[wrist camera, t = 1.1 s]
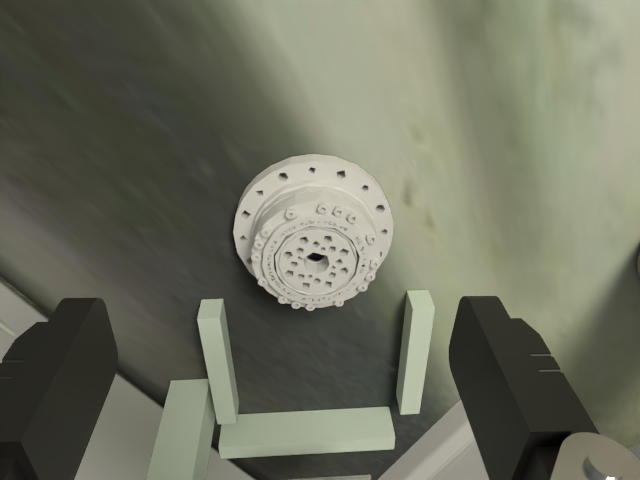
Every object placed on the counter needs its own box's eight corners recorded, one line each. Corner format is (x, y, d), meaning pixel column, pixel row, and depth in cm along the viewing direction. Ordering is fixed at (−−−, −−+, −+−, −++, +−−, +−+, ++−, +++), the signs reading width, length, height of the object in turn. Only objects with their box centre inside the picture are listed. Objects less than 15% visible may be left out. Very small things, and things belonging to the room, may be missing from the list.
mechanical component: (217, 262, 33) (352, 299, 36) (208, 305, 29) (360, 343, 32) (263, 129, 28) (416, 182, 31) (259, 159, 25) (433, 217, 27)
